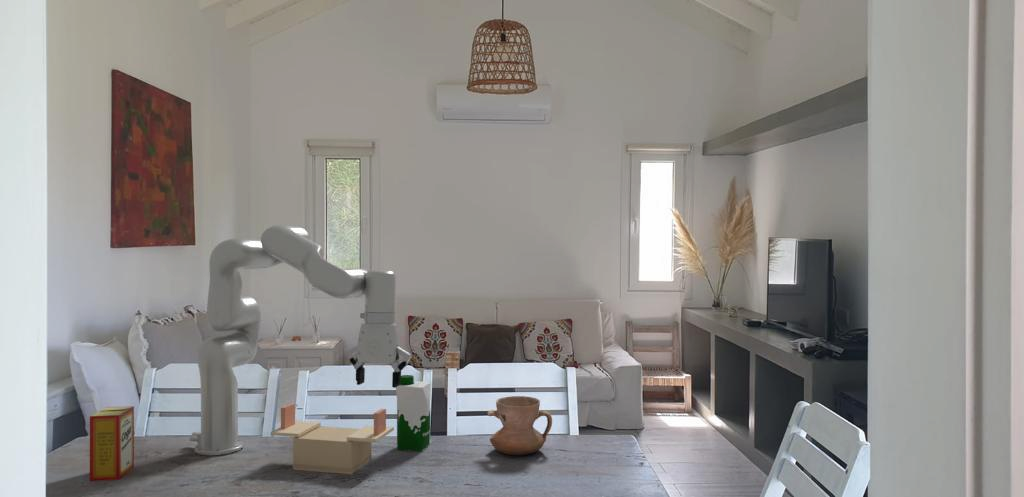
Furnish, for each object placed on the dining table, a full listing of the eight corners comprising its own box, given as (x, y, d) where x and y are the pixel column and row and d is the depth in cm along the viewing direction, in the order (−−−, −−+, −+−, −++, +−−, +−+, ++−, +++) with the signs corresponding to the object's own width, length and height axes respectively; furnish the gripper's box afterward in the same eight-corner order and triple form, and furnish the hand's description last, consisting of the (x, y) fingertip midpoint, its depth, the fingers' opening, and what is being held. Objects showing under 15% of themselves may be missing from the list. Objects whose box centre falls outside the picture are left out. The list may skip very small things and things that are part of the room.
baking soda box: (118, 479, 167) (118, 413, 167) (89, 481, 166) (89, 414, 166) (133, 467, 177) (133, 404, 177) (106, 468, 176) (106, 405, 176)
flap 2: (346, 440, 172) (346, 415, 172) (366, 428, 183) (366, 404, 183) (375, 442, 170) (375, 416, 170) (393, 430, 182) (393, 406, 182)
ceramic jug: (486, 459, 184) (486, 406, 184) (488, 443, 198) (488, 394, 198) (553, 459, 184) (553, 406, 184) (551, 444, 198) (551, 394, 198)
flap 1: (270, 435, 177) (270, 410, 177) (294, 423, 188) (294, 400, 188) (298, 437, 175) (298, 412, 175) (320, 425, 186) (320, 402, 186)
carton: (292, 469, 175) (292, 438, 175) (316, 455, 187) (316, 425, 187) (351, 474, 172) (351, 442, 172) (371, 459, 183) (371, 429, 183)
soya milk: (403, 442, 200) (404, 373, 200) (433, 443, 198) (433, 374, 198) (392, 450, 191) (392, 378, 191) (423, 453, 189) (424, 380, 189)
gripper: (341, 318, 175) (340, 385, 175) (406, 322, 171) (404, 390, 171) (354, 315, 182) (353, 380, 182) (416, 318, 178) (415, 384, 178)
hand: (378, 385), depth 177 cm, fingers open, 9 cm apart
